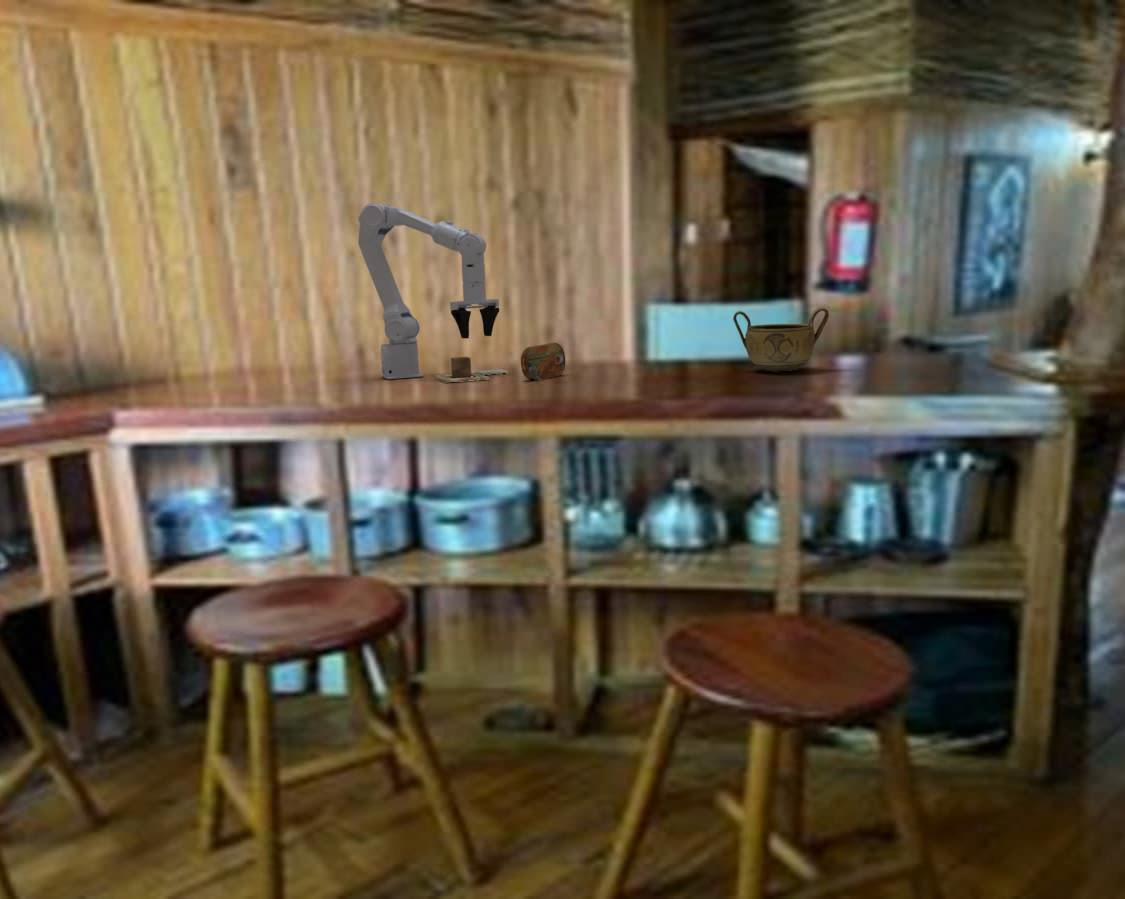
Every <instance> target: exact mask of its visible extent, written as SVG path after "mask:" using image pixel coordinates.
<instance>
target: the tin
mask: <svg viewBox="0 0 1125 899" xmlns="http://www.w3.org/2000/svg"><path fill="white" fill-rule="evenodd" d="M520 367H521V368H520V369H521V371H522V374H523V375H524V377H525V378H526V379H528V380H529V379H532V380H531V381H540V380H539V379H543V380H546V379H545V378H547V379H551V378H550V377H552V378H556V377H555V376H557V377H560V376H561V375H562V374H563V372H564V371H565V367H566V354H565V350H564V348H563V346H562V345H560V344H559V343H556V342H551V343H545V344H539V345H533V346H527V347H526V348H524V350H523V351H522V353H521V356H520Z"/></svg>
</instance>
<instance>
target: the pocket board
mask: <svg viewBox="0 0 1125 899" xmlns="http://www.w3.org/2000/svg"><path fill="white" fill-rule="evenodd" d="M471 376H473V377H468V378H455V379H451V378H452V374H442V375H441V374H439V375H434V379H435V378H436V379H435V380H437V379H438V380H437V381H439V380H440V381H439V382H441V381H443V382H445V383H447V382H460V381H469V380H489V381H490V377H489V376H485V375H482V374H480V373H476V372H471ZM443 382H442V383H443ZM445 383H444V384H445Z"/></svg>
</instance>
